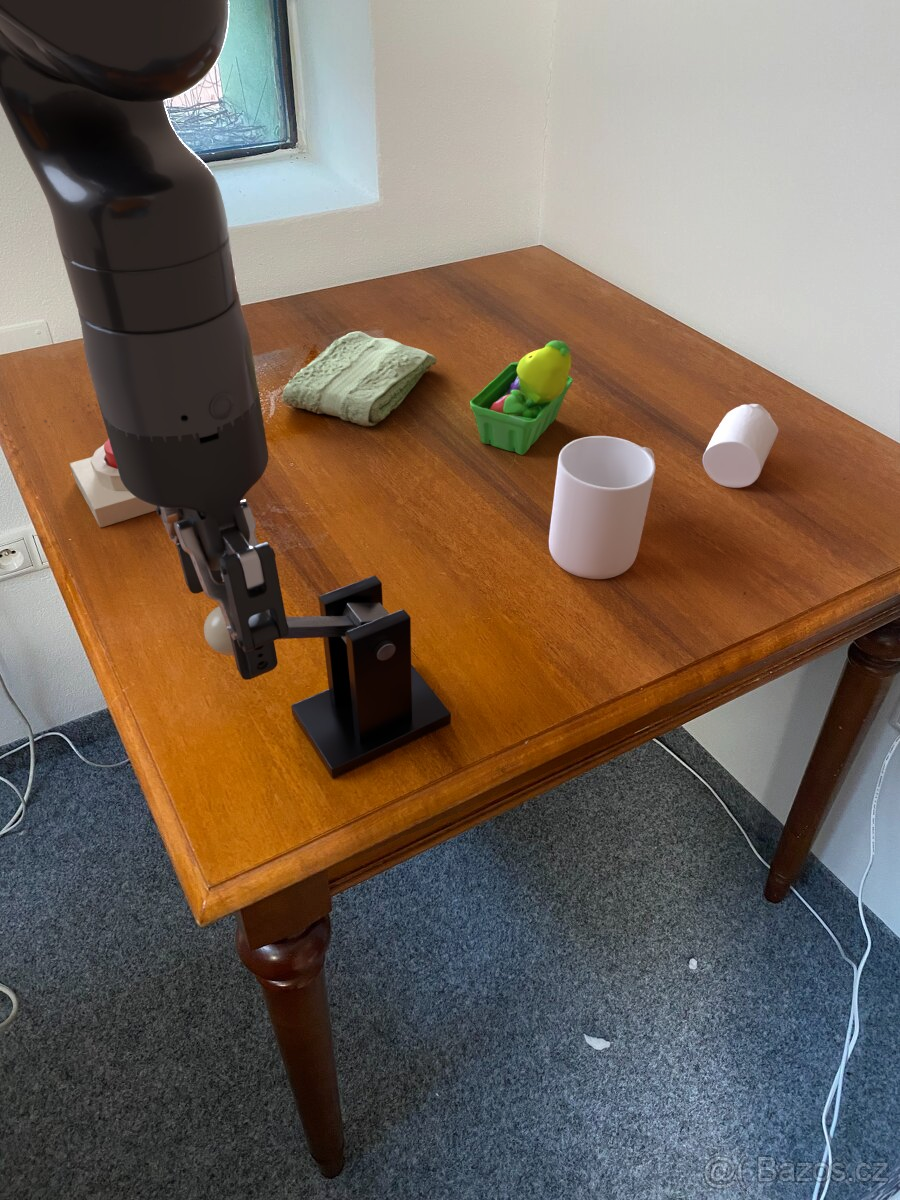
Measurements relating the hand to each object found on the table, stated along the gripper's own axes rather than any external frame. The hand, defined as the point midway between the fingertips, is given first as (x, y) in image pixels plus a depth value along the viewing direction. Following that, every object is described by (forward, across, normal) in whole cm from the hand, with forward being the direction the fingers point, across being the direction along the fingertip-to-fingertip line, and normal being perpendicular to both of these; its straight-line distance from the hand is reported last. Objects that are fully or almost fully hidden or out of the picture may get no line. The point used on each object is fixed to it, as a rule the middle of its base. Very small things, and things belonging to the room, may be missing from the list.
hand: (231, 627), depth 53 cm
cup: (+15, -8, +38) cm, 41 cm away
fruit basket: (+15, -28, +43) cm, 53 cm away
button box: (+14, -38, +3) cm, 41 cm away
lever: (+4, 0, +4) cm, 5 cm away
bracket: (+14, 0, +9) cm, 17 cm away
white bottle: (+15, -12, +60) cm, 63 cm away
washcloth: (+15, -46, +32) cm, 58 cm away
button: (+11, -39, +3) cm, 40 cm away
